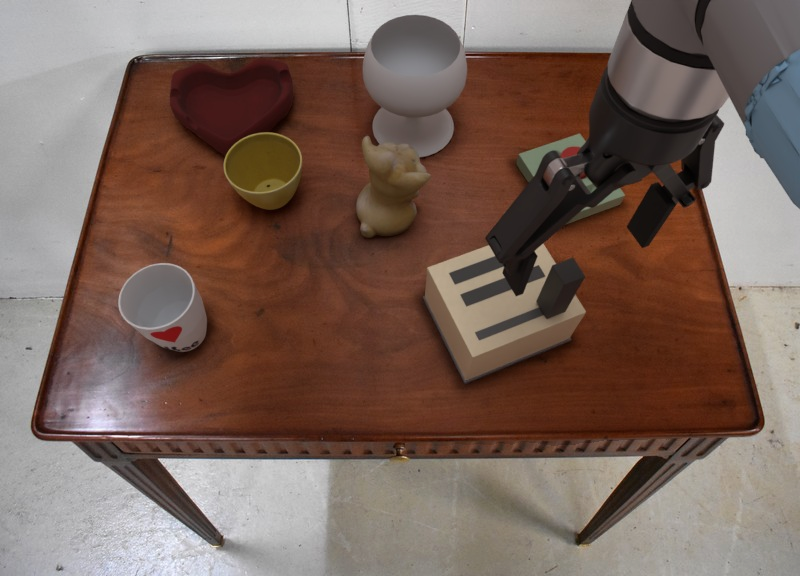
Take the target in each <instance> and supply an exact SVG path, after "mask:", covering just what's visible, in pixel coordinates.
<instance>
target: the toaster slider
mask: <svg viewBox="0 0 800 576" xmlns="http://www.w3.org/2000/svg"><path fill="white" fill-rule="evenodd" d="M585 278H586V275H585V273H584V272H583V270H582V268H580V266H579V264H578V262H577V261H576V260H575V258H574V257H571V258H569V259H565V260H562V261H560V262H557V263H556V264H555V265H552V267H551V270H550V272H549V274H548V276H547V278H546V281H545V283H544V285H543V287H542V290H541V292H540V294H539V296H538V298H537V301H536V302H537V304H538V306H539V307H540V309H541V311H542V312H543V314H544V316H545V318H546V319H549V318H551V317H554V316H556V315H559V314H561V313H564V312H566V310H567V308H568V306H569V305H570V303H571V301H572V299H573V297H574V296H575V295H576V294H577V292H578V290H579V289H580V287H581V285H582V283H583V282H584V279H585Z"/></svg>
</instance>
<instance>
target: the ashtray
mask: <svg viewBox="0 0 800 576" xmlns="http://www.w3.org/2000/svg"><path fill="white" fill-rule="evenodd" d="M294 94H295V93H294V83H293V78H292V74H291V71H290V68H289V66H288V64H287V63H286V62H285V61H282V60H278V59H272V58H269V57H263V56H260V57H257V58H255V59H254V60H252V61H251V62H249V63H248V64H246V65H245V66H244V67H241V68H240V69H238V70H236V71H232V72H226V71H225V72H224V71H220V70H218V69H217V68H214V67H212V66H209V65H207V64H206V63H204V62H196V63H194V64H191V65H189V66H187V67H184V68H181V69H178V70H176V71H174V72H173V73H172V76H171V80H170V91H169V107H170V109H171V112H172V114H173V116H174V117H175V118H176V120H177V121H178V122H179V123H180V124H181V125H182V126H184V127H185V128H186V129H188V131H189V130H190V131H191V132H192V133H193V134H195V135H196V136H197V137H199V138H200V139H201V140H202V141H203V142H205V143H206V144H208V145H209V146H210V147H212V148H213V149H214V150H216V151H217V152H219V153H220V154H221V155H223V156H224V157H226V154H227V153H228V151H229V149H230V148H231V147H232V146H233V145H234V144H235V143H237V142H238V141H239V140H241V139H243V138H244V137H247V136H249V135H252V134H256V133H265V132H267V133H268V132H269V133H270V132H271V131H272V130H273V128H275V126H276V125H277V124H278V123H279V122H281V121H282V120H283V119H284V118H285V117H286V116H287V115H288V113H289V112H290V110H291V108H292V106H293V101H294Z"/></svg>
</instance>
